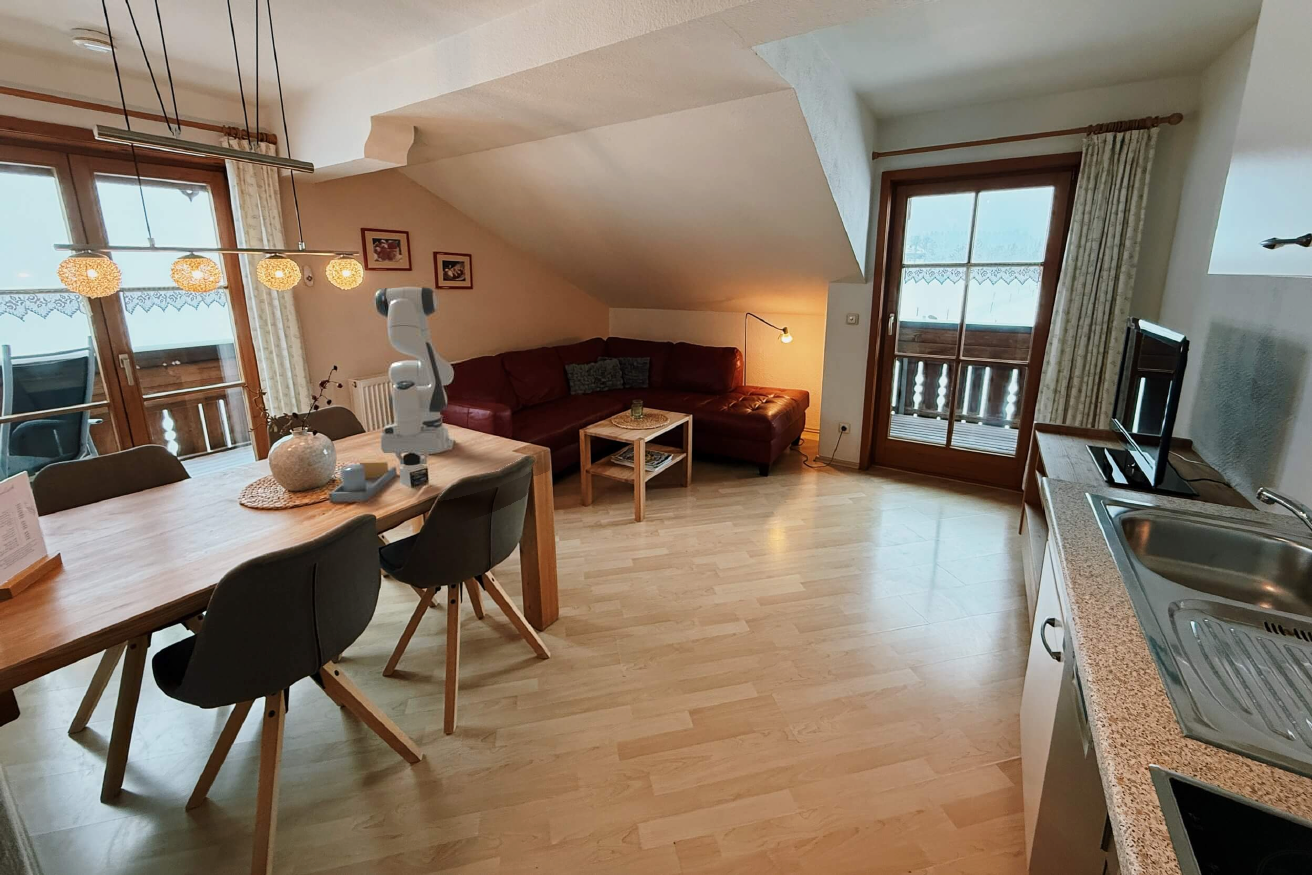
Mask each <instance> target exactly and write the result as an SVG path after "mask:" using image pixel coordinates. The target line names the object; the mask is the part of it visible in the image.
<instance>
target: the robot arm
mask: <svg viewBox="0 0 1312 875" xmlns="http://www.w3.org/2000/svg"><path fill="white" fill-rule="evenodd" d="M374 306H375V309H376V310H377V313H379V314H380V315H381V316H382V317H386V318H387V334H388V336H387V337H388V341H389V343H390V345H391V346H392V347H393V349H394V350H396V351H397V352H399V353H402V354H404V355H407V356H410V357H413V358H416V359H417V360H400V361H396V362H393V363H391V365H390V366H389V368H388V378H389V380H390V381H391V383H392V384H393V385H392V393H391V394H390V404H391V408H392V410H393V411H394V413H395V416H394V422H392V423H388V424H387V425H385V426H384V427H382V428H381V433H382V435H381V437H380V448H381V451H382V452H383V453H384V454H395V457H396V458H397V459H398V460H399V465H404V461H403V456H402V454H408V453H419V454H421V455H423V456H424V457H423V458H422V457H421V462H422V463H421V464H422V465H427V464H428V458H429V455H432V454H439V453H443V452H445V451H446V452H447V451H451V450H453V447H454V443H455V438H453V437H449V436H450V435H449V430H448V428H447V427H446V426H444V424H443V414H441V411H443V410H444V409H445V408H446V407H447V404H448V395H447V392H446V391H445V388H444V386H448V385H449V384H451V383H452V381H453V379H454V375H455V371H454V369H453V366H452V365H451V364H450V363H449V362H448V361H446V360H445V359H444V358H442V357H441V356H440V355H439V353H438V352H437V351H436V349H435V347H434V345H433V342H432V338H431V331H430V326H429V325H430V324H429V320H428V317H429V316H431V315H433V314H434V313H435V312H436V311H437V306H438V299H437V296H436V294H435V292H434V290H433V289H432V288H430V287H424V286H422V287H419V286H418V287H417V286H404V287H403V286H402V287H401V286H400V287H393V288H388V287H386V288H381V289H378V290H377V291H376V292H375V296H374Z"/></svg>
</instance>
